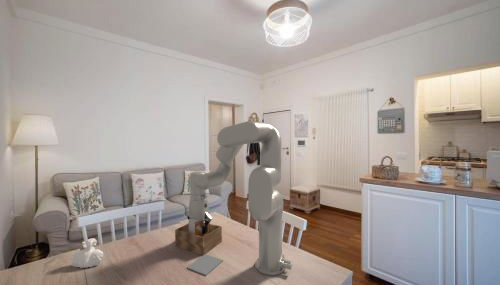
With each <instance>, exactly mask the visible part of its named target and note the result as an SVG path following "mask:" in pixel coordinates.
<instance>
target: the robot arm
mask: <svg viewBox="0 0 500 285" xmlns="http://www.w3.org/2000/svg"><path fill="white" fill-rule="evenodd" d="M216 140H217V143H218V145H219V147H218V149H217V151H216V153H215V157H216V159H217V160H218V161H219V165H218V166H217V167H216V169H215V171H209V172H207V173H206V172H204V171H202V170H201V171H199V170H198V171H193V172H191V173H190V175H189V191H190V195H189V196H190V199H189V201H188V202H189V203H188V211H186V212H185V216H186V217H187V219H188V221H189V219H190V218H191V219H196V220H200V221H202V224H203V226H202V234H205V233H207V232H208V224H209V223H210V224H211V221H212V220H213V217H212V216H211V215H210V208H209V201H208V199H207V198H208V195H206V194H207V190H211V189H212V188H216V187H219V186H222V185H223V184H224V183H225V181H226V180H227V179H228V177H229V176H230V174H231V171H232V169H233V168H232V167H233V161H234V160H235V158H236V157H237V156H238V154H239V152H240V151H241V149H242V148H243V146H244V145H248V144H259V143H261V149H260V152H259V153H260V156H259V157H260V161H259V166H258V167H255V168H254V169H253V170H252V171H251V172H250V174H249V177H248V184H247V186H248V189H247V190H248V192H247V193H248V195H247V201H248V203H247V204H248V206H247V207H248V212H249V214H250V216H251V217H252V219H253V220H255V221H257V222H258V258H257V259H256V260H255V262H254V264H255V265H254V266H255V268H256V270H257V271H258V272H259V273H261V274H263V275H266V276H277V275H280V274H282V273H284V271H285V270H286V269H287V270H289V271H291V270H292V267H293V264H292V263H291V260H288V259H285V254H283V232H282V231H283V215H284V214H283V212H284V197H283V196H282V193H280V192H279V191H278V190H276V189H273V188H275V187H277V186H278V185H279V184H280V183H281V180H282V137H281V134H280V132H279V130H277V128H276V127H274V126H273V125H272V124H269V123H268V122H263V121H255V120H254V121H253V120H249V121H243V122H240V123H235V124H232V125H229V126H226V127H223V128H221V129H220V130H219V132H218V134H217V137H216ZM207 218H208V220H207ZM204 220H205V222H204Z"/></svg>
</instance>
